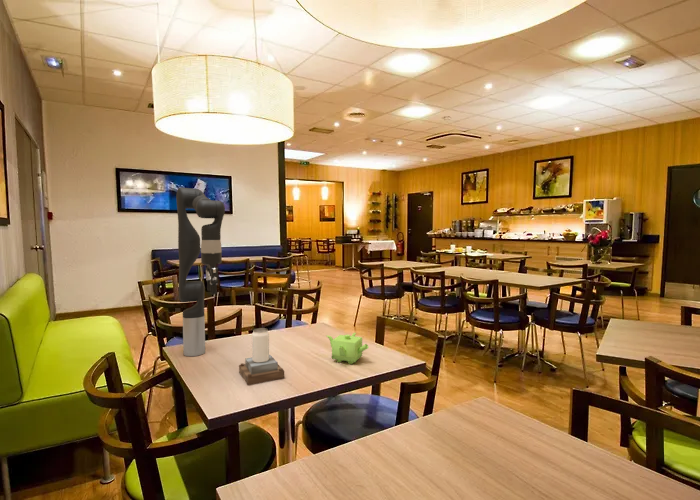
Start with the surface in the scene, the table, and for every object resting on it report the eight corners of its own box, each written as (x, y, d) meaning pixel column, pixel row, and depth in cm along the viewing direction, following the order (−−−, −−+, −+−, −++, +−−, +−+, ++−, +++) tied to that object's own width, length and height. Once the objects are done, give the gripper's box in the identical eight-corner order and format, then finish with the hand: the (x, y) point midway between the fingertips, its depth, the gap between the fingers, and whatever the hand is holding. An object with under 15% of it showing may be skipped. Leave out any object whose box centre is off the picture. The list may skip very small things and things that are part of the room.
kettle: (325, 357, 171) (325, 332, 170) (354, 353, 177) (354, 329, 176) (338, 368, 157) (338, 341, 157) (369, 363, 163) (369, 337, 163)
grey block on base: (239, 372, 153) (239, 357, 152) (273, 366, 159) (273, 352, 159) (247, 385, 140) (247, 369, 140) (284, 378, 147) (284, 363, 147)
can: (265, 363, 146) (264, 332, 145) (249, 362, 147) (248, 331, 146) (271, 358, 152) (271, 328, 151) (256, 356, 153) (256, 327, 153)
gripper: (198, 250, 154) (199, 290, 155) (203, 252, 142) (204, 296, 143) (218, 250, 158) (218, 289, 159) (224, 252, 145) (225, 294, 146)
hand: (212, 292), depth 151 cm, fingers open, 8 cm apart
